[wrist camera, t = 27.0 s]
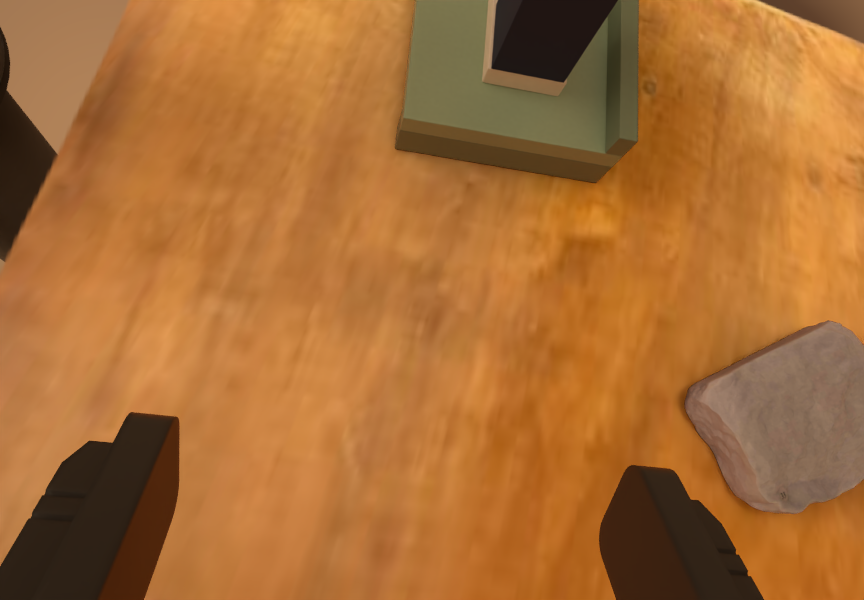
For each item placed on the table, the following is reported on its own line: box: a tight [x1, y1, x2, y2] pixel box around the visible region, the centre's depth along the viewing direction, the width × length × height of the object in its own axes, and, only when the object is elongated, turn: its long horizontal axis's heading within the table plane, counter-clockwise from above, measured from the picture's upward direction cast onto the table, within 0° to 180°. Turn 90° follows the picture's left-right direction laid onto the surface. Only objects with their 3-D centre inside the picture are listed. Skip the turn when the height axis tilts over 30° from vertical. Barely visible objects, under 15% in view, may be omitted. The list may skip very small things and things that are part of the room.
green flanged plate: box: [395, 0, 639, 183], centre depth 43 cm, size 14×16×6 cm
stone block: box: [685, 320, 864, 514], centre depth 41 cm, size 12×5×10 cm
